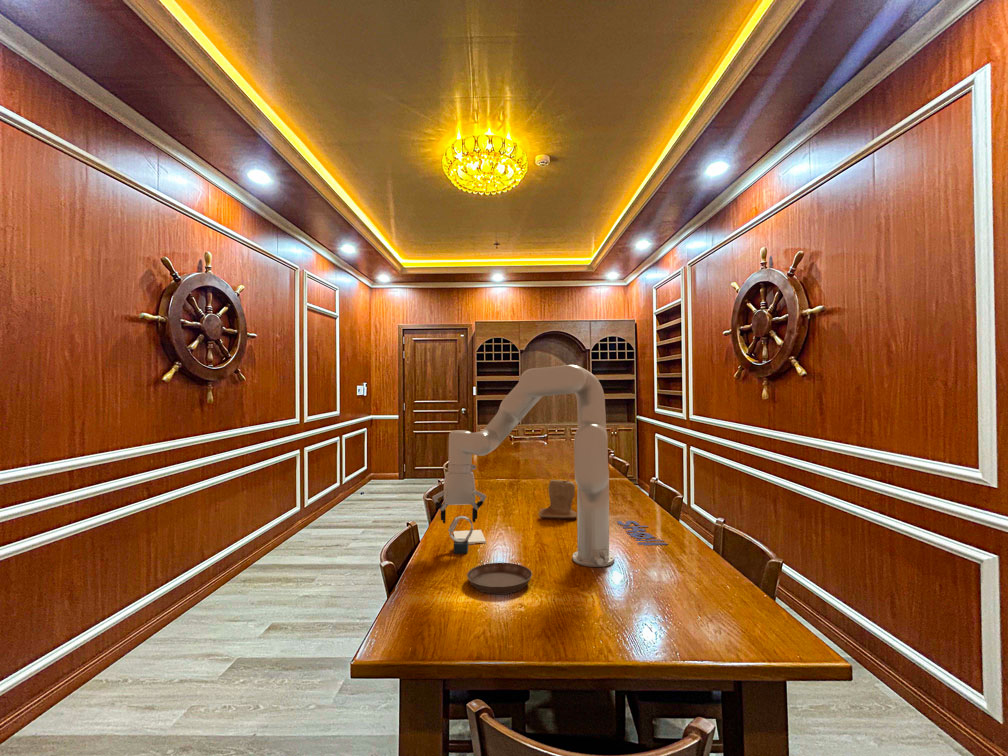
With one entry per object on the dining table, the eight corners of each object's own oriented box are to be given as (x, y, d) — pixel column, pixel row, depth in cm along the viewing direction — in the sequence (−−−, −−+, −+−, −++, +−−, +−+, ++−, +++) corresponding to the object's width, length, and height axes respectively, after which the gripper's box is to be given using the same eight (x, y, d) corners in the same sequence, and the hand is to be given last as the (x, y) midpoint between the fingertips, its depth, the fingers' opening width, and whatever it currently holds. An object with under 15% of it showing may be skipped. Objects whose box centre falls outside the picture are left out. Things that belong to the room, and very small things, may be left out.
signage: (615, 520, 196) (640, 520, 196) (615, 522, 196) (640, 521, 196) (638, 544, 168) (668, 543, 168) (638, 546, 168) (668, 545, 168)
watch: (449, 548, 166) (448, 514, 166) (473, 547, 166) (473, 514, 166) (447, 554, 160) (447, 519, 160) (472, 553, 160) (472, 519, 160)
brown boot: (576, 513, 208) (575, 477, 208) (577, 521, 196) (577, 483, 197) (539, 513, 210) (539, 476, 210) (538, 520, 198) (538, 482, 198)
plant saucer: (459, 577, 142) (459, 566, 142) (517, 568, 148) (517, 558, 148) (478, 603, 126) (478, 590, 126) (543, 592, 132) (543, 580, 132)
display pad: (485, 543, 171) (485, 540, 171) (456, 545, 169) (456, 542, 169) (480, 531, 183) (480, 529, 183) (453, 533, 182) (453, 531, 182)
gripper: (484, 466, 169) (483, 517, 169) (432, 467, 166) (431, 519, 166) (488, 470, 161) (487, 524, 161) (433, 471, 158) (432, 526, 158)
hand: (458, 521), depth 163 cm, fingers open, 9 cm apart
